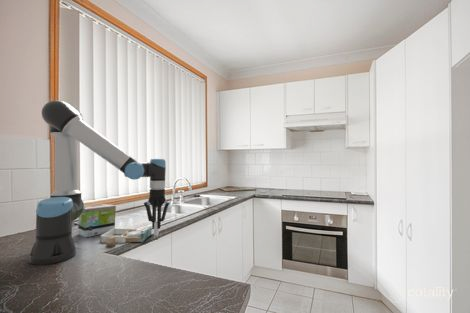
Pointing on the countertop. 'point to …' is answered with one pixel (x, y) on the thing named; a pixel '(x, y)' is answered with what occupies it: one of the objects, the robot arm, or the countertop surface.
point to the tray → (143, 237)
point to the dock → (116, 231)
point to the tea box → (96, 220)
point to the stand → (110, 242)
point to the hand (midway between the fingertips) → (156, 234)
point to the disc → (134, 234)
